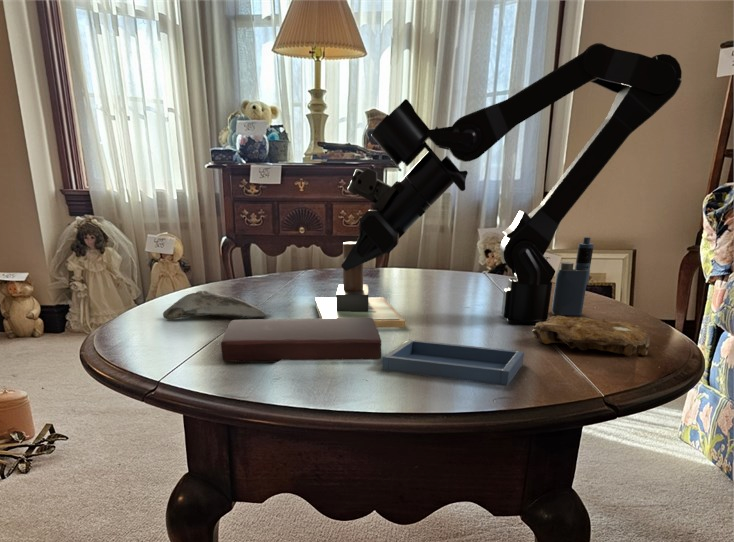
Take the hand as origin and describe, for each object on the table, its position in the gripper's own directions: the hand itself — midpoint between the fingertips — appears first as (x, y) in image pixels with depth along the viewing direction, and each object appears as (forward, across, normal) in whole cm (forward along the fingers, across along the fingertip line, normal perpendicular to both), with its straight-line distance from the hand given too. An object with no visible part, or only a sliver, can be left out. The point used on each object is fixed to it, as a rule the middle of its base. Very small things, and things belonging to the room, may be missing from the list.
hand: (344, 267), depth 104 cm
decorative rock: (-19, +18, +30) cm, 40 cm away
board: (+4, +2, +7) cm, 8 cm away
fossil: (+19, +4, -9) cm, 21 cm away
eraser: (+3, 0, +5) cm, 6 cm away
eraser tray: (-7, +31, +17) cm, 36 cm away
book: (+7, +25, +4) cm, 26 cm away
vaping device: (-20, -6, +31) cm, 38 cm away
